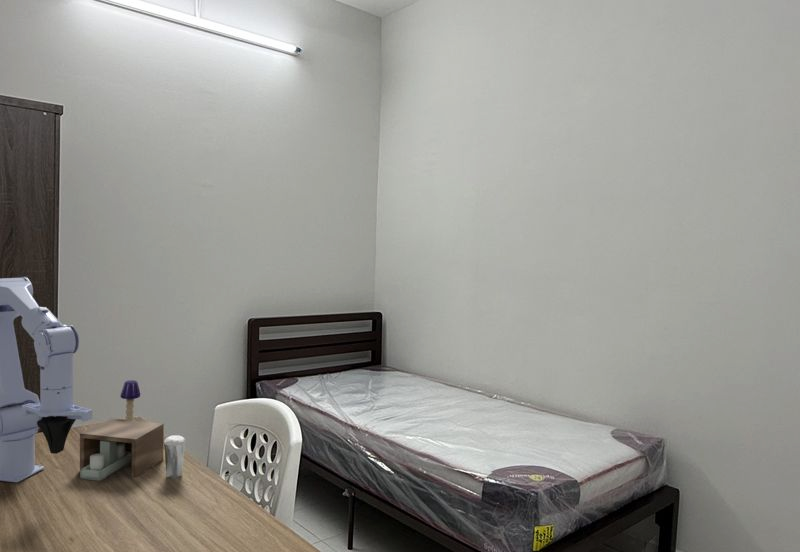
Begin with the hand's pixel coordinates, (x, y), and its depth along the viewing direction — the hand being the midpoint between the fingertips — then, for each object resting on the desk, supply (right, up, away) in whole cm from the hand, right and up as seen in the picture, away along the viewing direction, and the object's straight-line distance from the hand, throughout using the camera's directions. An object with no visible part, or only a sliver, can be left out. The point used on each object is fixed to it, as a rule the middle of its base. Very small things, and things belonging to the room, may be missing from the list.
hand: (57, 451), depth 118 cm
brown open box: (+5, -9, +19) cm, 21 cm away
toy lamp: (0, -8, +31) cm, 32 cm away
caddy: (+2, -9, +16) cm, 18 cm away
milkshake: (+19, -10, +14) cm, 25 cm away
